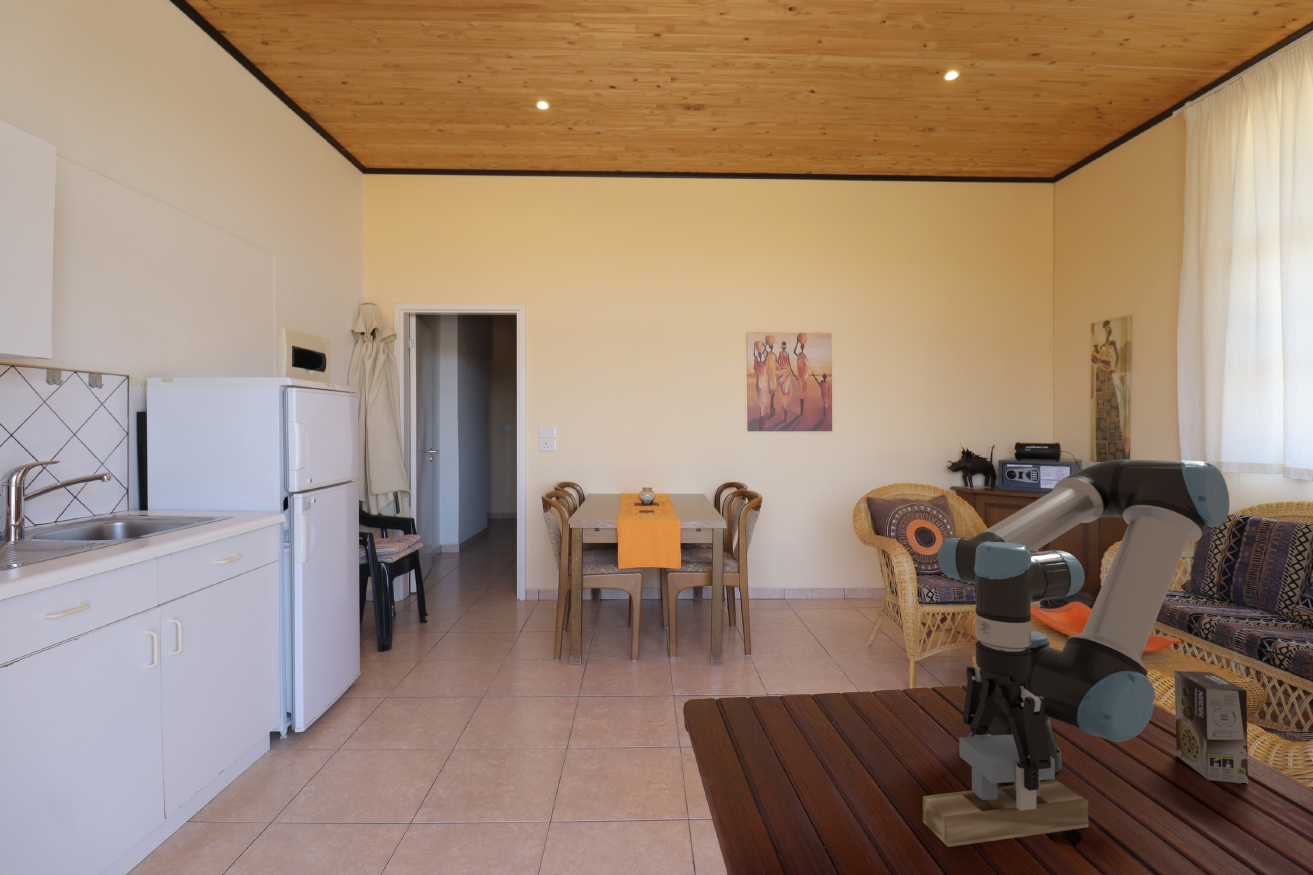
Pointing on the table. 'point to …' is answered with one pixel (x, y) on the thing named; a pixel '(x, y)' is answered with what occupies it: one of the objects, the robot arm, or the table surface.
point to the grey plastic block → (995, 763)
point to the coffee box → (1211, 726)
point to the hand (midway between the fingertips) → (1003, 791)
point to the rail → (1002, 814)
